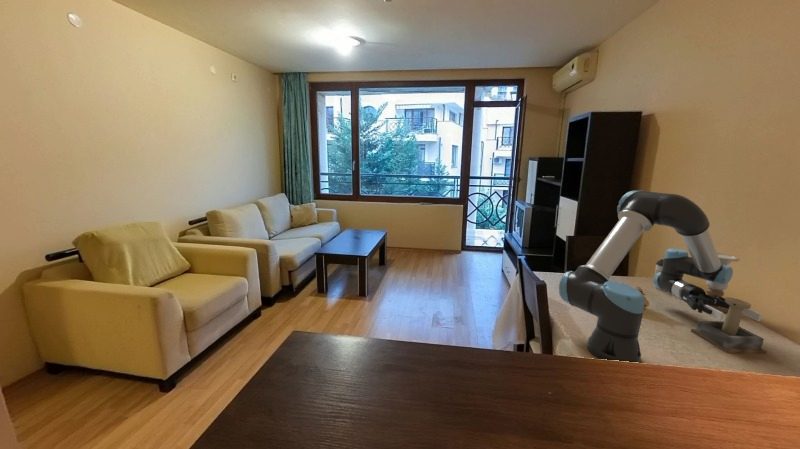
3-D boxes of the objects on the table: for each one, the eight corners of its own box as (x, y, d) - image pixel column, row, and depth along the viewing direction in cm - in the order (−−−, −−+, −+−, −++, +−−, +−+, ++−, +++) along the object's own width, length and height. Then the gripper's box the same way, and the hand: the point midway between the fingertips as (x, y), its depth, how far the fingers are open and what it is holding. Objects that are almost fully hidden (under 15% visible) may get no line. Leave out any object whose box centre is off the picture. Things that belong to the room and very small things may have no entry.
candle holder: (695, 298, 159) (706, 251, 154) (726, 305, 152) (739, 256, 147) (696, 306, 151) (707, 255, 146) (729, 313, 144) (742, 261, 139)
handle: (735, 345, 117) (747, 306, 113) (712, 335, 122) (723, 298, 119) (741, 342, 119) (753, 304, 115) (718, 333, 124) (729, 296, 121)
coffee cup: (653, 289, 169) (658, 261, 166) (649, 283, 177) (655, 256, 174) (675, 293, 165) (681, 264, 162) (670, 287, 173) (676, 259, 170)
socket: (726, 352, 114) (729, 339, 113) (690, 331, 127) (693, 319, 126) (766, 353, 114) (769, 340, 113) (726, 332, 128) (729, 320, 127)
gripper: (716, 301, 138) (773, 327, 117) (657, 300, 137) (703, 326, 117) (720, 285, 136) (778, 308, 115) (660, 283, 136) (708, 306, 115)
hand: (741, 317), depth 116 cm, fingers open, 13 cm apart
